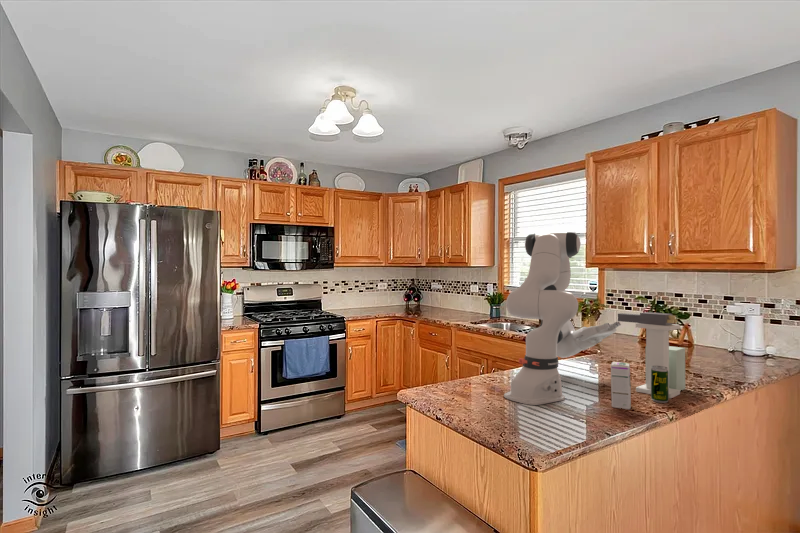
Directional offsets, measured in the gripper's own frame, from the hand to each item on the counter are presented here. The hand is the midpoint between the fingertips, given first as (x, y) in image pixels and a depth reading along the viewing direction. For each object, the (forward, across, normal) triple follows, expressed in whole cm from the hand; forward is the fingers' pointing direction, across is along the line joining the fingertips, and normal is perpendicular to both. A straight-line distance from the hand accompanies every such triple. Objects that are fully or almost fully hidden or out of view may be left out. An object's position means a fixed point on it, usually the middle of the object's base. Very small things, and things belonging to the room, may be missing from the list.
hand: (614, 323), depth 177 cm
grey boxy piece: (+11, 0, +5) cm, 12 cm away
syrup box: (0, -28, +29) cm, 40 cm away
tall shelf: (+2, 0, +29) cm, 29 cm away
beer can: (+6, -11, +32) cm, 34 cm away
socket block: (+1, +10, +29) cm, 31 cm away
